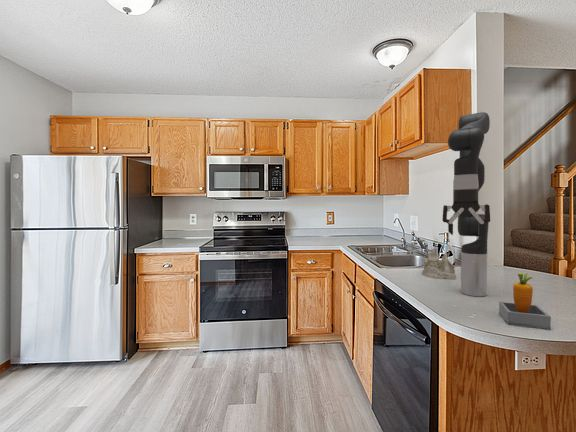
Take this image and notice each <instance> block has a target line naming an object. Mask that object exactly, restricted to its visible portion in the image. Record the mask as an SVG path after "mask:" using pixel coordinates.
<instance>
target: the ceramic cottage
mask: <svg viewBox="0 0 576 432" xmlns="http://www.w3.org/2000/svg"><path fill="white" fill-rule="evenodd" d="M448 257H449V256H448V253H443V257H442V258H441V259H440V257H439V252H437V253H436V251H435V250H434V248H431V250H430V252H428V253H427V257H424V261H423V264H424V266H423V270H422V271H421V275H422V276H424V277H426V278H430V279H437V280H451V281H452V280H456V279H457V278H458V277H457V274H456V272H455V271H456V270H455V268H456V266H454V265H453V264H452V263H451V261H450V260H449V258H448Z"/></svg>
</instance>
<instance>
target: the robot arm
mask: <svg viewBox="0 0 576 432" xmlns="http://www.w3.org/2000/svg"><path fill="white" fill-rule="evenodd" d="M490 121H491V120H490V115H489V114H488V113H487V112H482V111H481V112H476V113H470V114H465V115H461V116H460V117H459V119H458V127H457V129H456V130H453V131H452V132H451V133H450V134H449V136H448V138H447V145H448V148H449V149H450V150H451V151H454V152H459V158H456V159H455V160H454V161H453V173H454V174H453V182H452V183H453V185H452V189H453V190H452V191H453V192H452V194H453V195H452V196H453V199H452V205H447V204H445V205H443V207H442V222H443V223H446V224H447V228H448V229H447V231H448V234H450V235H452V236H453V235H454V224H453V223H454V222H455V220H457V232H458V235H460V237H478V238H477V239H476V240H474V241H471V242H467V243H465V244H462V245H461V248H460V249H461V253H460V254H461V257H460V258H461V261H460V292H461V294H463V295H466V296H472V297H486V296H487V290H488V289H487V287H488V236H489V222H491V208H490V207H491V206H490V205H489V204H488V203H486V204H481V205H480V204H479V192H480V190H481V188H483V186H484V184H485V178H486V177H485V176H486V175H485V172H486V171H485V164H484V163H483V161H482V160H481V159H480V157H479V156H480V152H481V151H482V150H481V149H482V147H483V144H484V141H485V135H486V134H487V133H488V132H489V130H490V127H491V125H490V124H491V122H490ZM480 209H481V211H483V214H482V213H480V214H479V213H478V211H479V210H480ZM450 210H452V211H453V212H454V214H452V216H451V217H450V218H449V219H448V212H450Z"/></svg>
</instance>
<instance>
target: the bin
mask: <svg viewBox="0 0 576 432" xmlns="http://www.w3.org/2000/svg"><path fill="white" fill-rule="evenodd" d="M498 304H499V305H498V306H499V307H498V313H499V314H500V317H501V318H502V319H503V320H504V321H505V323H506V325H509V326H510V325H511V326H517V327H524V328H525V327H527V328H533V329H541V330H543V329H544V330H549V331H550V330H551V319H552V318H551V317H552V316H551V315H550V314H548V313H547V312H546V311H545V310H544V309H543V308H541V307H540V306H539V305H538V304H531V306H530V309H529V311H528V313H520V312H517V310H516V307H515V303H514V302H510V301H509V302H507V301H499V302H498Z"/></svg>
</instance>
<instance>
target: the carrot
mask: <svg viewBox="0 0 576 432" xmlns="http://www.w3.org/2000/svg"><path fill="white" fill-rule="evenodd" d="M528 275H529V274H528V273H527V272H525V273H523V272H520V273H518V274H517V276H518V278H519V282H515V283H514V284H513V286H512V287H513V288H512V291H513V296H512V297H513V303H515V307H516V310H517V312H520V313H528V311H529V309H530V306H531V305H532V303H533V293H534V292H533V291H534V289H533V286H532V285H531V284H530V283H527V282H528V281H529V280H532V279H534V278H533V276H530V275H529V276H528Z"/></svg>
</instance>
